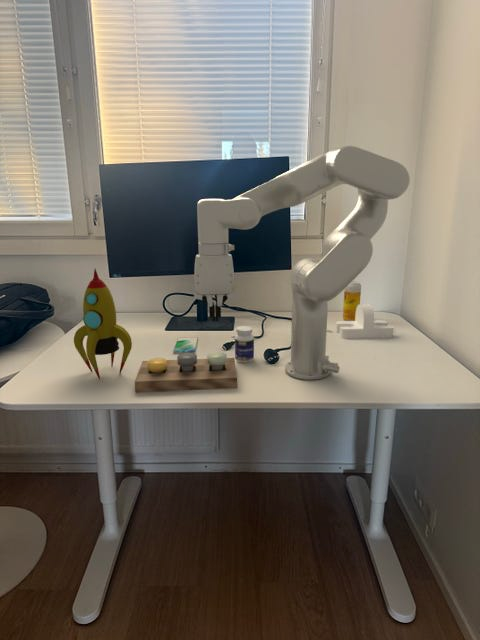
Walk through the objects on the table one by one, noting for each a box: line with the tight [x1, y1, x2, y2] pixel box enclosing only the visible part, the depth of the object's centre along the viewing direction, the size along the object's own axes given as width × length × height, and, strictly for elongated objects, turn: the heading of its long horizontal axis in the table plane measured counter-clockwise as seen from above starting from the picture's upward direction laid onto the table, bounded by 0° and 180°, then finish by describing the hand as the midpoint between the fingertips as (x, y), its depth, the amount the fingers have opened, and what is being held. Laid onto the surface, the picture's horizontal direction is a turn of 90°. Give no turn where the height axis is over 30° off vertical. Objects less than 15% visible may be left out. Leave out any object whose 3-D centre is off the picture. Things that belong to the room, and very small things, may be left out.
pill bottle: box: [234, 325, 255, 363], centre depth 131 cm, size 6×6×10 cm
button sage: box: [206, 351, 228, 371], centre depth 119 cm, size 5×5×5 cm
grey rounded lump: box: [176, 353, 198, 372], centre depth 118 cm, size 5×5×5 cm
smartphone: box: [172, 337, 199, 355], centre depth 145 cm, size 7×1×15 cm
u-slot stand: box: [335, 303, 395, 340], centre depth 154 cm, size 10×18×11 cm, turn 92°
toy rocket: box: [73, 268, 133, 380], centre depth 120 cm, size 12×12×30 cm
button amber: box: [147, 357, 168, 373], centre depth 118 cm, size 5×5×5 cm
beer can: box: [342, 280, 362, 321], centre depth 169 cm, size 6×6×15 cm
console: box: [134, 357, 238, 393], centre depth 119 cm, size 26×14×3 cm, turn 94°
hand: (215, 319), depth 115 cm, fingers closed
